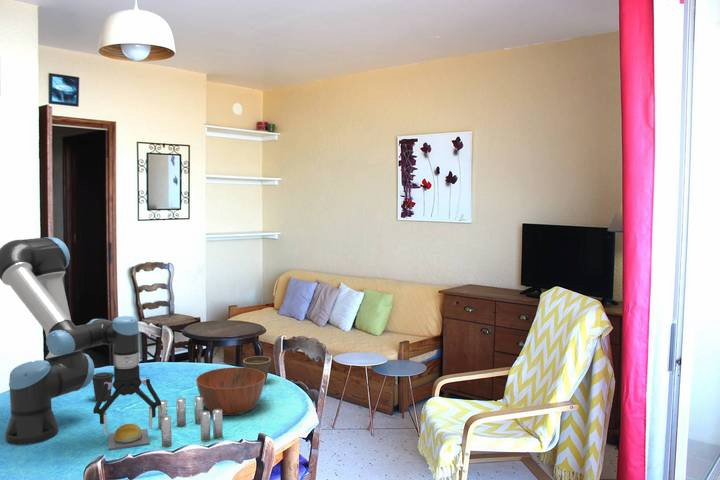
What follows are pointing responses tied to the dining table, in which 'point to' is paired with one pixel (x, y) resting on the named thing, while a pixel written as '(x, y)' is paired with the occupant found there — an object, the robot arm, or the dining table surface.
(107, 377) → the coffee cup
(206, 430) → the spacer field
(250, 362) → the flower pot
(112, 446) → the slate coaster
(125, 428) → the bread roll
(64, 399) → the dining table surface
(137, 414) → the dining table surface
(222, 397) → the bowl
